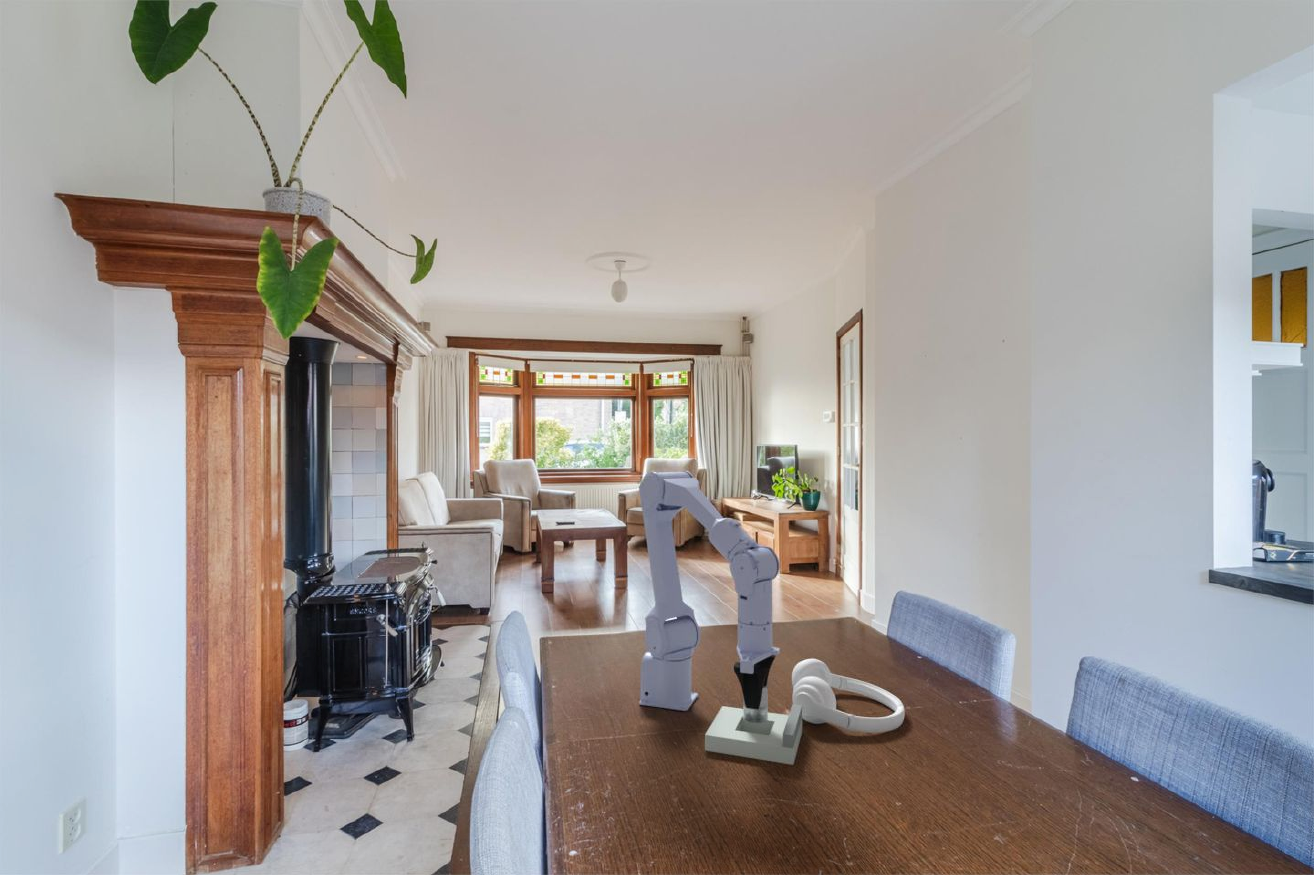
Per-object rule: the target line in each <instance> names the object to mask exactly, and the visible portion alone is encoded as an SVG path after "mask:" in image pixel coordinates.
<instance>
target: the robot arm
mask: <svg viewBox="0 0 1314 875" xmlns="http://www.w3.org/2000/svg"><path fill="white" fill-rule="evenodd" d="M700 486H701V485H700V481H699V480H698V479H697V478H695V476H694V474H692V473H691V472H690V471H688V470H682V471H668V472H667V471H665V472H656V471H650V472H647V473H646V474H645V475H644V476H643V478H642V481H641V482H640V483H639V485H638V490H639V491H638V492H639V496H640V497H639V498H640V504H641V505H640V506H641V512H642V513H641V514H642V516H643V525H644V529H645V530H644V532H645V539H646V546H647V553H648V560H649V568H650V576H651V582H652V588H653V590H652V591H653V597H654V604H655V605H654V607H652V608H651V610H650V611H649V612H648V614H647V615H646V616H645V631H644V632H645V633H644V644H645V647H646V649H647V651H646V652H645V653H644V655H643V657H642V658H641V664H640V700H639V702H638V705H641V706H647V707H655V708H663V709H668V710H675V711H683V712H686V711H688V710H689V708H691V706H692V704H693V703H694V702H695V700H696V699H697V698H698V697H699V694H698V692H692V655H693V654H695V648H697V647H698V645H699V644H700V641H701V629H700V627H699V624H698V622H697V619H696V618H695V610H694V609H693V608H692V607H691V606H689V605H688V604H687V603H686V602H684V599H683V594H682V587H681V586H682V585H681V580H680V573H679V566H678V559H677V552H676V546H675V538H674V532H673V523H672V521H673V520H674V518H675V516H676V515H677V514H678V513H679V512H681V510H683V509H685V510H686V511H687V512H688V513H689V515H691V516H693V517H694V519H696V521H698V522H699V523H700V524H701V525H702V526H703V527H704V528H705V529H706V530H707V531H708V540H709V542H710V543H711V545H712V546H714V548H715V549H716V551H718V552H719V554H721V555H722V557H723V558H724V559H725V560H726V561H727V562H728V564H729V572H730V574H731V577H732V579H733V581H734V590H735V592H736V594H737V645H736V653H737V655H738V657H739V661H738V662H737V661H736V662H735V663H734V664H733V671H734V673H735V675H736V677H737V678H738V682H739V685H740V687H741V691H742V696H743V697H744V702H745V705H746V708H749V709H757V710H758V709H759V707H760V703H761V697H762V690H763V685H765V686H767V687H768V680H769V679H768V678H769V675H770V671H771V668H772V665H773V662H774V661H775V659H776V656H778V655H780V652H781V651H780V647H774V646H773V580H774V579H776V578H777V576H778V574H779V572H780V560H779V557H778V555H777V554H776V552H775V551H774V548H772V547H771V546H768V545H761V544H760V543H758V542H757V540H755V539H754V538H752V537H751V536H750V535H749V533H747V532H746V531H745V530H744V529H743V527H741V523H740V522H739V521H738V519H734V518H731V517H723V516H722V515H721V513H720V512H719V511H718V510H717V509H716V507H715V506H714V505H713V504H712V502H711V501H710V500H709V498H707V496H706V494H704V492H703V491H702V490H701V489H700ZM743 697H742V698H743Z"/></svg>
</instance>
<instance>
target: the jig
mask: <svg viewBox="0 0 1314 875" xmlns="http://www.w3.org/2000/svg"><path fill="white" fill-rule="evenodd" d="M802 734H803V718H802V705H795V704H793V703H792V705H791V708H790V711H789V713H788V714H781V713H776V712H769V711H768V720H767V721H766V722H763V723H752V722H748V721H746V720H745V719H744V718H743V708H739V707H733V706H731V707H730V706H726V705H725V706H724V705H722V706H721V707H720V710H719V711H718V713H717V714H716V716H715V717H714V719H713V721H712V723H711V724H710V726H709V727H708V729H707V731H706V732H705V734H704V751H706V752H707V751H708V752H711V753H712V752H713V753H719V754H725V755H730V756H738V757H742V758H750V759H755V760H760V761H768V762H773V763H780V764H785V765H791V766H793V765H794V764H795V761H796V756H797V753H798V749H799V745H800V741H801V737H802Z"/></svg>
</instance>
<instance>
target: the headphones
mask: <svg viewBox="0 0 1314 875" xmlns="http://www.w3.org/2000/svg"><path fill="white" fill-rule="evenodd" d="M791 683H792V688H793V689H792V690H793V691H792V697H791V698H792V699H791V700H792V705H793V704H795V705H802V720H804V721H806V722H807V723H810V724H814V725H820V724H821V725H822V724H825V723H830V724H832V725H834V726H838V727H839V728H840V727H841V728H842V729H844V730H845V731H850V732H851V731H854V732H860V733H870V734H873V733H874V734H875V733H886V732H891V731H894V730H896V729H898V728H899V727H900V726H901V725H902V724H903V722H904V719H905V712H906V711H905V705H904V704H903V701H901V700H900V699H899V698H898V696H896V695H894V693H893V694H892V693H891V692H889V691H888V690H885V689H883V688H882V687H879V686H877V685H875V684H872V683H869V682H867V681H863V680H859V679H856V678H851V677H847V676H846V677H845V676H844V675H838V674H834V673H832V672H831V671H830V668H829V667H828V666H827V664H826V663H825V662H823V661H822V660H819V659H818V658H817V659H816V658H807V659H804V660H802V661H801V660H800V661H799V662H798V663H796V665H795V666H794V667H793V670H792V672H791ZM832 688H833V689H836V690H838V691H847V692H850V693H855V694H859V695H862V696H865V697H867V698H870V699H873V700H875V701H877V702H879V703H881V704H883V705H885V706H887V707H888V708H890V709H891V710H892V711H893V713H892V714H890V715H887V716H881V717H867V716H866V717H865V716H857V715H855V714H850V713H847V712H844V711H841V710H839V709H837V700H836V699H837V698H836V695H835V693H834V691H833V689H832Z"/></svg>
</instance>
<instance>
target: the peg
mask: <svg viewBox="0 0 1314 875" xmlns="http://www.w3.org/2000/svg"><path fill="white" fill-rule="evenodd" d="M768 691H769V689H768V685H767V686H765V685H763V690H762V697H761V703H760V707H759V709H758V710H757V709H749V708H746V705H745V702H744V697H742V698H743V699H742V700H743V701H742V702H743V704H742V706H743V708H742V709H743V718H744V719H745V720H746V721H748V722H752V723H763V722H766V721H767V720H768V712H769V711H768V710H769V709H768V708H769V707H768V706H769V704H768V703H769V702H768V701H769V699H768V696H769V695H768Z"/></svg>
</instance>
